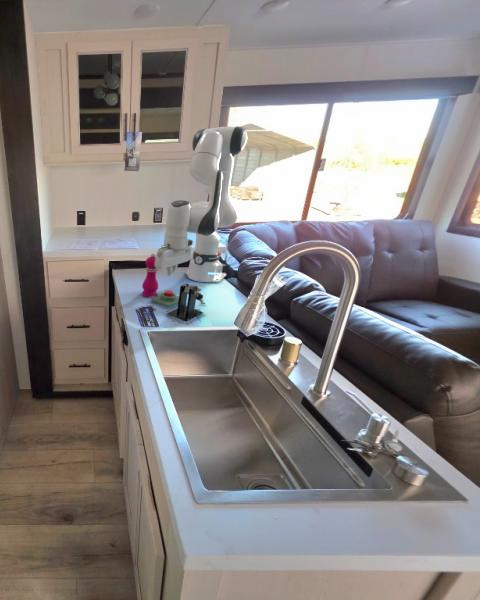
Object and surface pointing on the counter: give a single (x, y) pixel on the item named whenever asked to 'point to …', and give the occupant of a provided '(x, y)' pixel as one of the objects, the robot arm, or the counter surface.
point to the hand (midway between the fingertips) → (170, 274)
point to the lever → (199, 295)
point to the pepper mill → (150, 278)
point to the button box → (166, 300)
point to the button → (168, 293)
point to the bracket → (189, 310)
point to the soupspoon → (197, 291)
